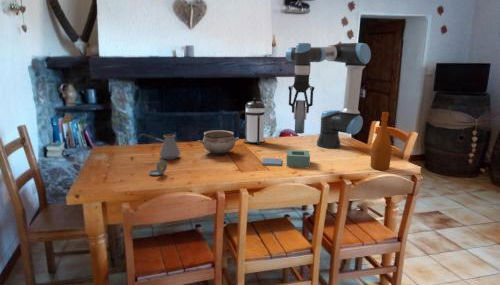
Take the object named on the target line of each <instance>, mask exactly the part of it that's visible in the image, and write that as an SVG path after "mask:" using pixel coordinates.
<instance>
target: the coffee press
mask: <svg viewBox="0 0 500 285" xmlns="http://www.w3.org/2000/svg"><path fill="white" fill-rule="evenodd" d="M257 100H258V98H257V97H253V100H252V101H248V102H246V104H245V106H244V107H245V110H240V111H239V112H238V113H237V116H236V117H237V118H236V129H237V131H238V132H237V133H239V134H240V135H244V136H245V138H244V141H243V144H244V145H246V144H248V143H256V144H257V146H260V145H261V142H262V143H265V141H266V140H265V138H264V135H265V132H264V131H265V130H264V129H265V112H266V111H267V108H266V106H265V104H264V102H262V101H257ZM242 114H245V131H242V130H241V116H242Z"/></svg>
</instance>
